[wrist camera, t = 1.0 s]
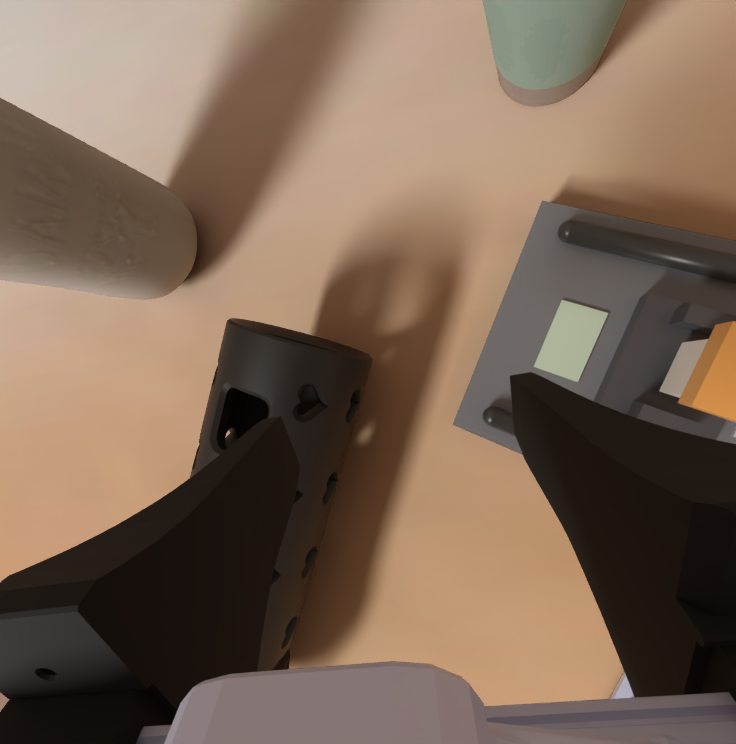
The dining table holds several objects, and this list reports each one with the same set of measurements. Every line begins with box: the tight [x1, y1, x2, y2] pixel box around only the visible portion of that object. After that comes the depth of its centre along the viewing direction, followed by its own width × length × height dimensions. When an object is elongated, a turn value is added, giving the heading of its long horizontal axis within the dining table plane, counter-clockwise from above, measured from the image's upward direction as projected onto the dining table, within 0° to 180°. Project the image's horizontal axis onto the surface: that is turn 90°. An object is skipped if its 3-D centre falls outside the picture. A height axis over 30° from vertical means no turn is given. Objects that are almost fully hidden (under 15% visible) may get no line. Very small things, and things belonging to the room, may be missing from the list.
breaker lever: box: [659, 321, 736, 423], centre depth 15 cm, size 2×3×4 cm, turn 159°
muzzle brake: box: [190, 318, 373, 672], centre depth 25 cm, size 10×28×10 cm, turn 163°
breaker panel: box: [453, 201, 736, 455], centre depth 19 cm, size 18×14×5 cm
